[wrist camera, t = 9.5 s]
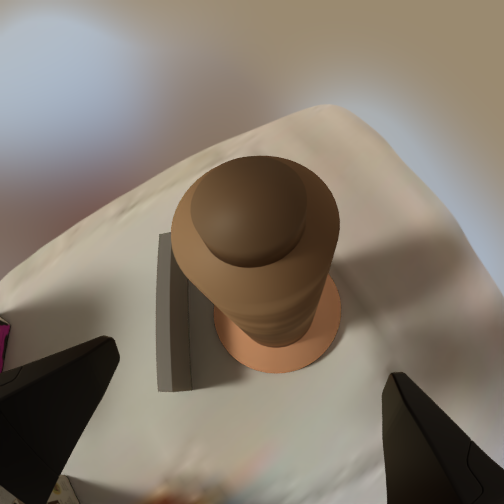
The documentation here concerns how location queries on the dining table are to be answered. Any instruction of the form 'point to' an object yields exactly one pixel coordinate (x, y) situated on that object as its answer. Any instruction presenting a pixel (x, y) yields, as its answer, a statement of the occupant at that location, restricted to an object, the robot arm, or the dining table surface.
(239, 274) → the walnut mill
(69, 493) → the coffee box
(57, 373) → the robot arm
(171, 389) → the grey flat bar
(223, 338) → the coaster
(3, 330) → the candy bar box
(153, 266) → the dining table surface
